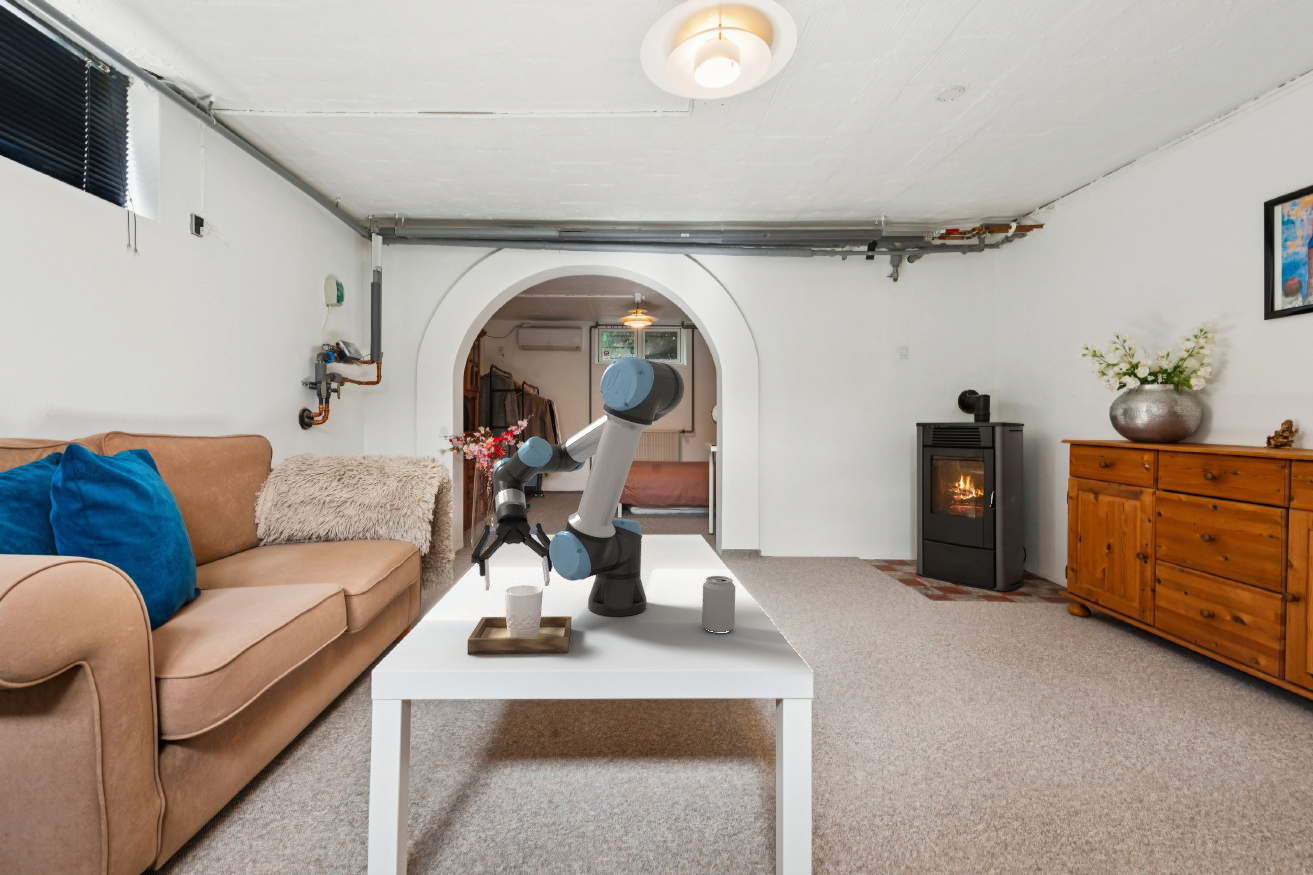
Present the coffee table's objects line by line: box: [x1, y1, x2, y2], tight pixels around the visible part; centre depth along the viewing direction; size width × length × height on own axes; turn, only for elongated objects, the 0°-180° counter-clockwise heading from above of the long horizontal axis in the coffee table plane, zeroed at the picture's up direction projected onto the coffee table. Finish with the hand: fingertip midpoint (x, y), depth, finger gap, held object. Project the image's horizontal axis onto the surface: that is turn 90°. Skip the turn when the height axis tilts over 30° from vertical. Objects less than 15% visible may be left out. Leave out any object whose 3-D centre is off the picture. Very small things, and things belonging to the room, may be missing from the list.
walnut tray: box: [467, 615, 573, 655], centre depth 123 cm, size 20×14×3 cm
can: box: [701, 575, 736, 632], centre depth 133 cm, size 8×8×12 cm
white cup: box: [504, 584, 544, 637], centre depth 123 cm, size 8×8×10 cm
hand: (518, 585), depth 132 cm, fingers open, 13 cm apart
